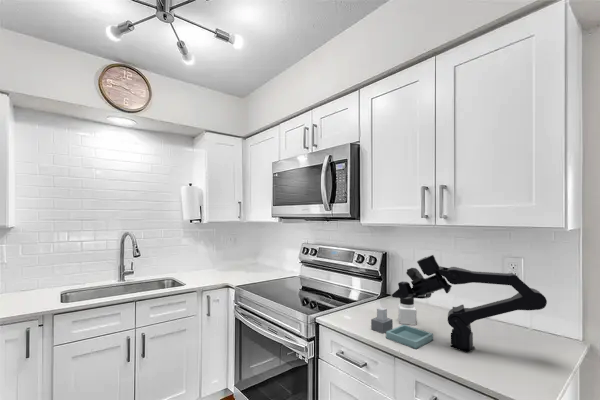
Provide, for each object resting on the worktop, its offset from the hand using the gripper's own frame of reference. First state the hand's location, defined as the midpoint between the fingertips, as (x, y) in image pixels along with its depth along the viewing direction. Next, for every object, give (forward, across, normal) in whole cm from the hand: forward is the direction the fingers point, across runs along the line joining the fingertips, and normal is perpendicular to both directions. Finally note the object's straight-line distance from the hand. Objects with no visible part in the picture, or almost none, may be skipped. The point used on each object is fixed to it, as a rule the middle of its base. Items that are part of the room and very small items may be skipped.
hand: (398, 296), depth 130 cm
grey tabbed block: (+12, +1, +11) cm, 17 cm away
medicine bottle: (+10, -16, +9) cm, 21 cm away
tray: (+1, +1, +17) cm, 17 cm away
